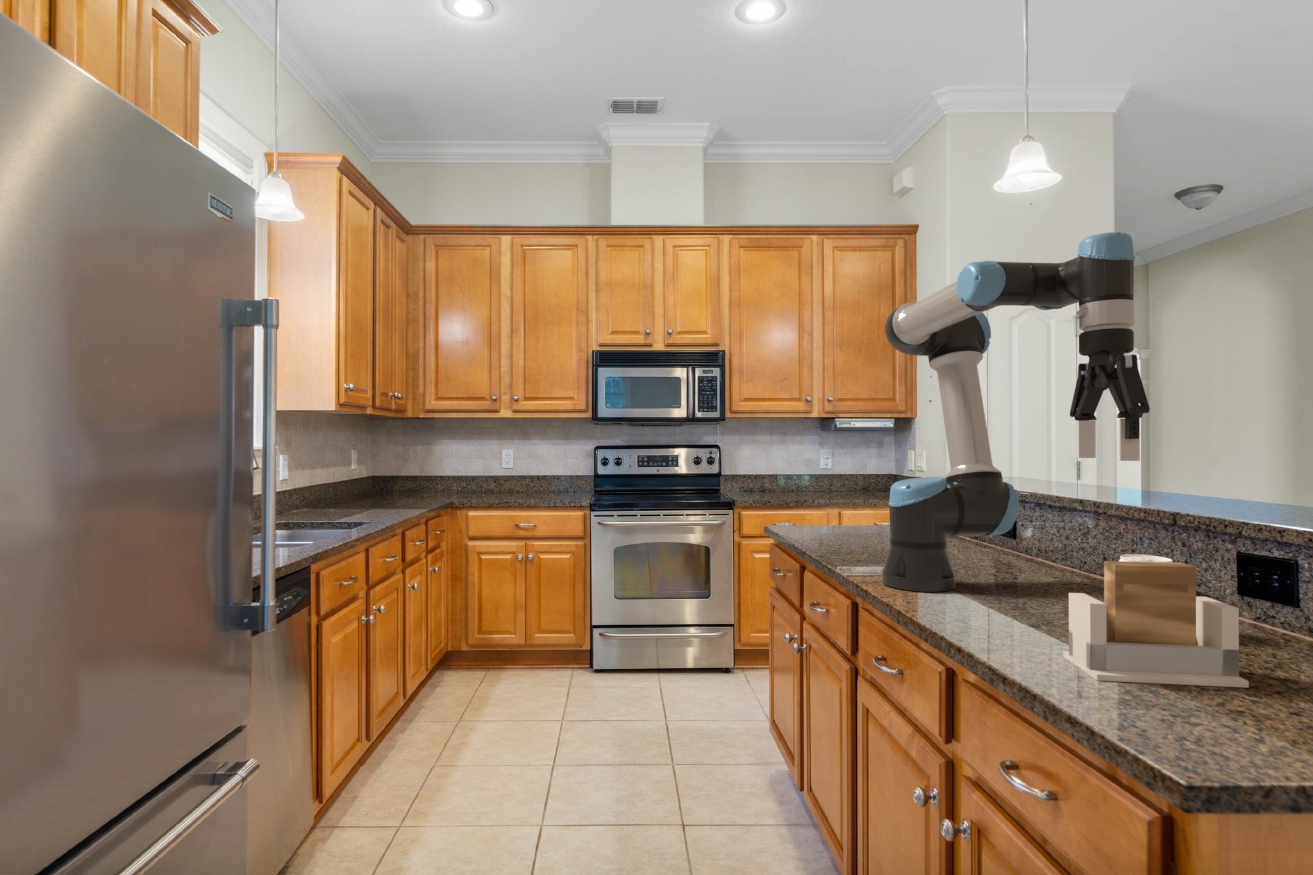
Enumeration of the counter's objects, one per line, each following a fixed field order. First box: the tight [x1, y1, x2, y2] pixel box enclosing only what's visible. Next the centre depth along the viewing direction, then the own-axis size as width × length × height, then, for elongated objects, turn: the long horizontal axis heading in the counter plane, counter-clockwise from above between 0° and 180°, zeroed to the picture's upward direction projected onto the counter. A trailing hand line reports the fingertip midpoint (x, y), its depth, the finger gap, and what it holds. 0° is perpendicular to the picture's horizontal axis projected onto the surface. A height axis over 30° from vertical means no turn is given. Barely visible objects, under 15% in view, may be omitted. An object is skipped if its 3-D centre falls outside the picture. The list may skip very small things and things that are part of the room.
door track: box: [1062, 592, 1250, 689], centre depth 93 cm, size 10×18×10 cm, turn 81°
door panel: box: [1103, 560, 1197, 646], centre depth 93 cm, size 3×10×14 cm, turn 81°
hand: (1106, 459), depth 110 cm, fingers open, 13 cm apart
